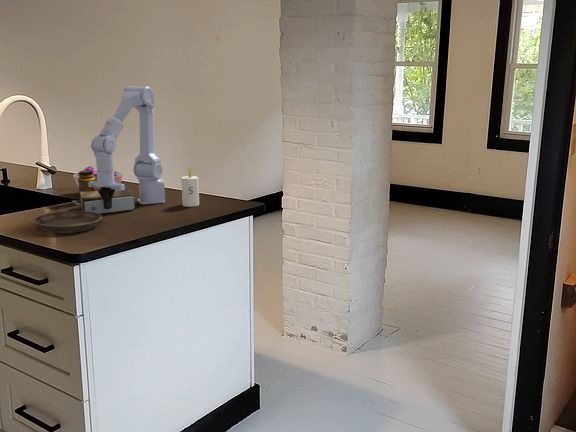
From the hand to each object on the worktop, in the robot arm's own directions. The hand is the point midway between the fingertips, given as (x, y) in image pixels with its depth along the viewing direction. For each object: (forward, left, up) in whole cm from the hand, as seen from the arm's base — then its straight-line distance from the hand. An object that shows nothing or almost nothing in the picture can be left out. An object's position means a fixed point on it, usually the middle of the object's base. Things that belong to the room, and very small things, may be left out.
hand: (108, 208), depth 214 cm
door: (-1, -2, -2) cm, 3 cm away
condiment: (+6, -24, -3) cm, 25 cm away
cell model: (0, -38, -3) cm, 38 cm away
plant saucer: (+13, +12, -3) cm, 18 cm away
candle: (-31, -6, -2) cm, 31 cm away
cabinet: (-1, -10, -2) cm, 11 cm away
